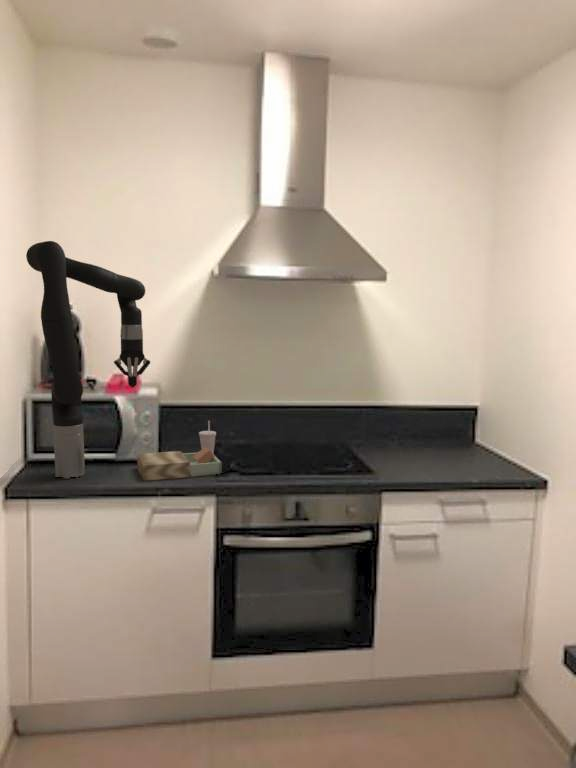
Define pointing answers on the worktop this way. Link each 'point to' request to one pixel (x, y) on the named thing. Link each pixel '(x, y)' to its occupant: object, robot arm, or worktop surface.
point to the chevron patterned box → (163, 465)
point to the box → (203, 466)
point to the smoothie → (207, 438)
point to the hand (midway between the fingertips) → (132, 386)
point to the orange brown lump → (203, 456)
